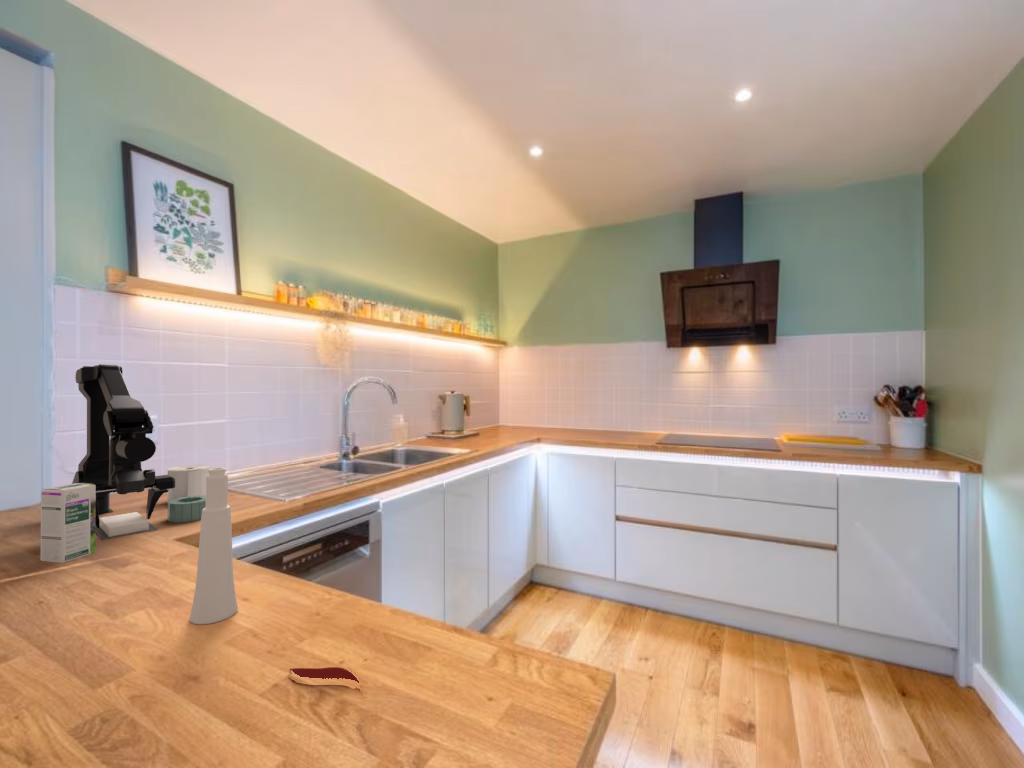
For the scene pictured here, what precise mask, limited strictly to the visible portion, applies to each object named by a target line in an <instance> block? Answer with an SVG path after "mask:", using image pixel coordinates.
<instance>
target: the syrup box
mask: <svg viewBox="0 0 1024 768" xmlns="http://www.w3.org/2000/svg"><path fill="white" fill-rule="evenodd" d="M95 502H96V485H95V484H89V483H74V484H72V483H71V484H65V485H61V486H60V485H59V486H55V487H47V488H43V489H41V491H40V557H39V558H40V561H41V562H50V563H60V564H63V563H66V562H69V561H73V560H77V559H79V558H82V557H86V556H90V555H92V554H95V553H96V533H95Z"/></svg>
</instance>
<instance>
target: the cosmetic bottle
mask: <svg viewBox="0 0 1024 768" xmlns="http://www.w3.org/2000/svg"><path fill="white" fill-rule="evenodd" d="M226 472H227V468H226V467H214V468H212V467H211V469H209V470H208V473H209V475H208V476H207V477H206V507H205V508H204V509H202V517H201V519H200V531H199V543H198V545H199V546H198V557H197V566H196V567H197V570H196V578H195V579H196V580H195V587H194V588H195V589H194V596H193V601H192V604H191V605H192V607H191V611H190V616H189V621H190V623H192V624H194V625H210V624H211V625H212V624H214V623H218V622H222V621H225V620H226V619H229V618H231V617H232V616H234V615H235V614H236V613H237V611H238V609H239V607H238V601H237V597H236V596H237V595H236V589H235V578H234V563H233V560H234V559H233V533H232V532H233V531H232V530H233V529H232V509H231V505H229V504H228V497H229V496H228V495H229V493H228V490H229V476H228V474H227V473H226Z"/></svg>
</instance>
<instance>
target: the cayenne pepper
mask: <svg viewBox="0 0 1024 768" xmlns="http://www.w3.org/2000/svg"><path fill="white" fill-rule="evenodd" d="M290 669H291V670H292V671H293V672H294V673H295V674H297V675H299V676H300V677H309V678H322V679H324V678H325V679H326V678H328V679H329V678H331V679H332V678H337V679H339V678H342V679H343V678H345V679H351V680H355V681H357V682H358V683H359V681H358V680H357V678H356V677H355V676H354V675H353V674H352V673H351V672H352V671H351V672H349V671H350V670H348V669H347V668H343V667H338V666H337V667H335V666H331V667H329V666H328V667H321V668H320V667H319V668H313V667H312V668H311V667H309V668H308V667H307V668H306V667H305V668H304V667H297V668H296V667H294V668H290Z"/></svg>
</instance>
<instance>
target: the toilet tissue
mask: <svg viewBox="0 0 1024 768" xmlns="http://www.w3.org/2000/svg"><path fill="white" fill-rule="evenodd" d="M209 469H212V466H211V465H210V464H209V465H208V464H191V465H180V466H173V467H169V468H168V469H167V475H169V476H171V477H173V478H174V479H175V488H172V489H168V490H169V491H168V492H166V503H167V504H168V502H169V501H170V500H173V499H177V498H181V497H188V496H206V477H207V476H208V475H209V473H208V470H209Z"/></svg>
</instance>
